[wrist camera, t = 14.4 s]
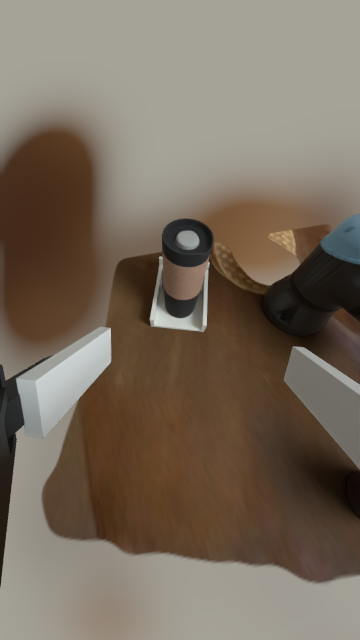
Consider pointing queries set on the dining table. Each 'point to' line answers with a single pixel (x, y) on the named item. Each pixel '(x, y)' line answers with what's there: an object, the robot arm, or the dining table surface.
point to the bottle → (354, 491)
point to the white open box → (192, 322)
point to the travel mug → (184, 264)
